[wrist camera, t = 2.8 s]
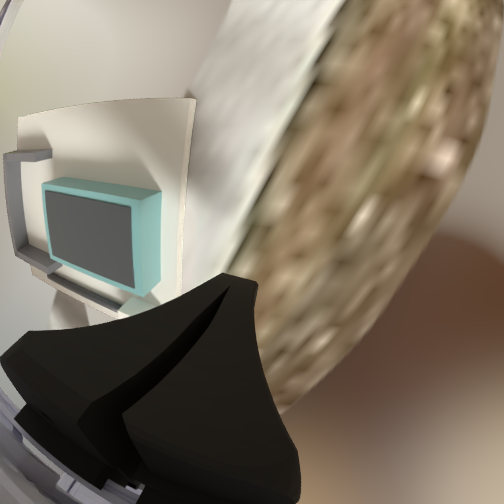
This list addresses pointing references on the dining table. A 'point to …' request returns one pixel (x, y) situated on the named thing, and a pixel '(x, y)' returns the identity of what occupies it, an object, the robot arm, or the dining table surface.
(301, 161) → the dining table surface
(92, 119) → the board
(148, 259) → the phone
